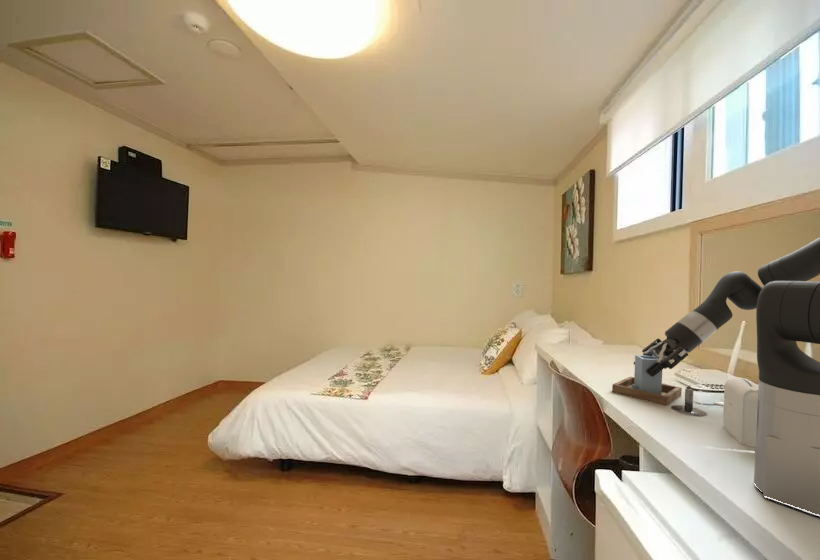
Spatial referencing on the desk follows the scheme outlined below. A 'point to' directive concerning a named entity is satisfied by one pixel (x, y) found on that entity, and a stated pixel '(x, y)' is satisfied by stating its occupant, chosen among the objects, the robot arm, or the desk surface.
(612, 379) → the desk surface
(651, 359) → the blue square pencil cup
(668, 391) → the tray
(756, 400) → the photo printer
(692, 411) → the round base metal stand
